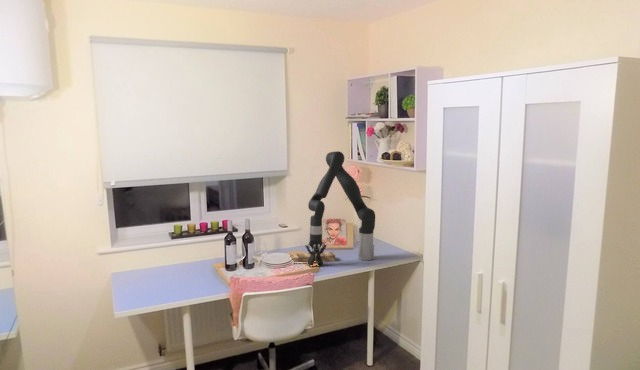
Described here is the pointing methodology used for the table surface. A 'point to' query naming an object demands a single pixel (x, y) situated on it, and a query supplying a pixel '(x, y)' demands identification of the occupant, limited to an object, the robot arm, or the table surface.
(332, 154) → the robot arm
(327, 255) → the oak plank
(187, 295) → the table surface
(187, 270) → the table surface
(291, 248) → the table surface
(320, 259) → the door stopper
